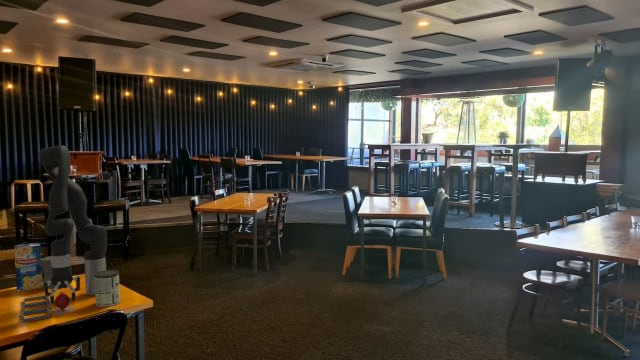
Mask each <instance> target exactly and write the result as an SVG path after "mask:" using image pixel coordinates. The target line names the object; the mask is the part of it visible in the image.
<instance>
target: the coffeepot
mask: <svg viewBox="0 0 640 360" xmlns="http://www.w3.org/2000/svg"><path fill="white" fill-rule="evenodd" d="M48 254H49V256H45V257H41V259H39V260H37V262H38V263H39V264H40V265H41V269H42V271H43V272H42V273H43V278H42V288H43V289H42V290H44V281H50V280H51V279H52V269H51V257H52V255H51V252H49V253H48ZM53 287H54V285H53V284H52V283H50V285H49V286H48V289H52V288H53Z"/></svg>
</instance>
